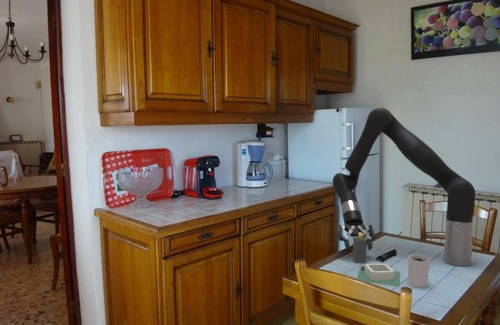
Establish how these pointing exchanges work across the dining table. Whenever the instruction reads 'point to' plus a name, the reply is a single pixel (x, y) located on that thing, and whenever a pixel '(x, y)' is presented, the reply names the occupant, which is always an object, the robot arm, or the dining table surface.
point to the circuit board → (392, 283)
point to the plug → (359, 249)
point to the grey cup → (418, 270)
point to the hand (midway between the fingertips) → (359, 249)
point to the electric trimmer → (386, 256)
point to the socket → (379, 272)
